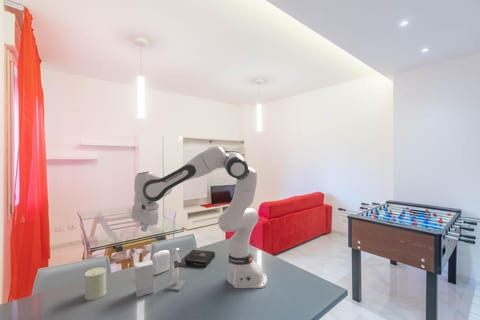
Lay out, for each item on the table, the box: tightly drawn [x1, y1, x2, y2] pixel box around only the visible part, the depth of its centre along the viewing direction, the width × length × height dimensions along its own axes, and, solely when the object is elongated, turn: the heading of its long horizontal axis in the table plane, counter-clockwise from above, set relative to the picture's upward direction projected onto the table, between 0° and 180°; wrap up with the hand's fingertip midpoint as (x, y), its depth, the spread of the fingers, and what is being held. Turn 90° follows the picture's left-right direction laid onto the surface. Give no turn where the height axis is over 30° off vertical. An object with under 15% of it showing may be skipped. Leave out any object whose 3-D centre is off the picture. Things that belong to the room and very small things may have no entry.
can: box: [84, 266, 108, 301], centre depth 112 cm, size 9×9×12 cm
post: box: [164, 254, 187, 292], centre depth 119 cm, size 8×8×18 cm
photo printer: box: [151, 249, 171, 276], centre depth 135 cm, size 10×4×12 cm, turn 134°
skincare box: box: [134, 259, 155, 298], centre depth 114 cm, size 8×6×15 cm
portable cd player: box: [181, 249, 216, 269], centre depth 149 cm, size 16×17×4 cm
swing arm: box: [171, 246, 187, 268], centre depth 111 cm, size 21×5×2 cm, turn 23°
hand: (144, 231), depth 114 cm, fingers closed
